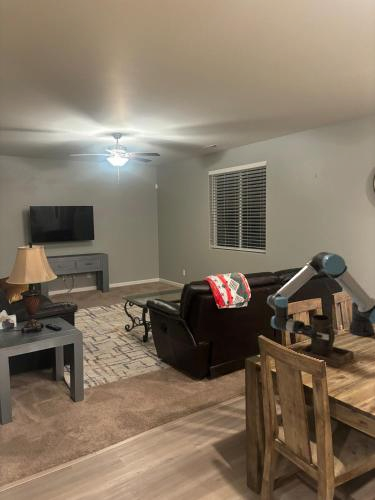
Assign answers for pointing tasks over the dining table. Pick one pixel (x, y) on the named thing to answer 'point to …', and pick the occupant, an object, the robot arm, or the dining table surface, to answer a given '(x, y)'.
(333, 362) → the walnut tray
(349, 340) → the dining table surface
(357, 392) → the dining table surface
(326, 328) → the beer stein
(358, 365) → the dining table surface
